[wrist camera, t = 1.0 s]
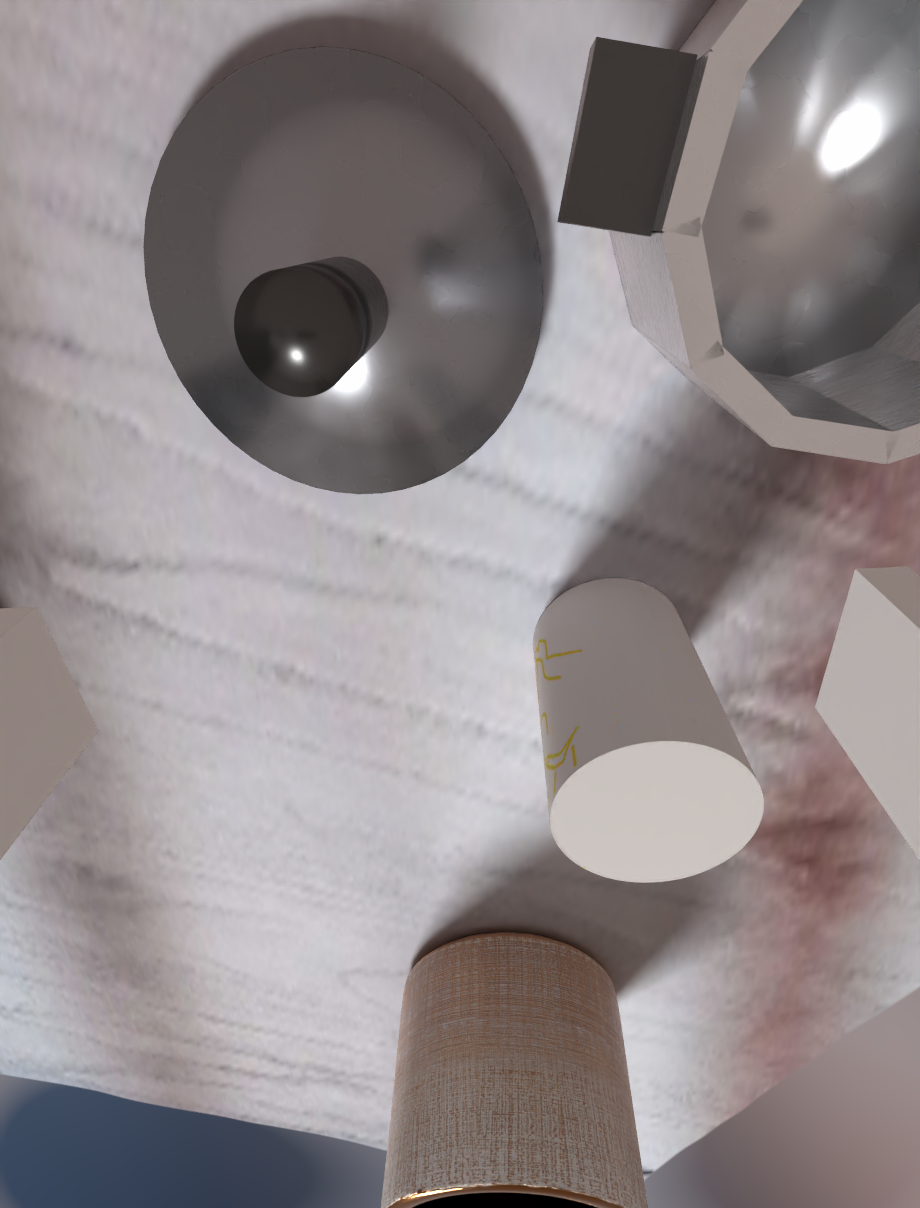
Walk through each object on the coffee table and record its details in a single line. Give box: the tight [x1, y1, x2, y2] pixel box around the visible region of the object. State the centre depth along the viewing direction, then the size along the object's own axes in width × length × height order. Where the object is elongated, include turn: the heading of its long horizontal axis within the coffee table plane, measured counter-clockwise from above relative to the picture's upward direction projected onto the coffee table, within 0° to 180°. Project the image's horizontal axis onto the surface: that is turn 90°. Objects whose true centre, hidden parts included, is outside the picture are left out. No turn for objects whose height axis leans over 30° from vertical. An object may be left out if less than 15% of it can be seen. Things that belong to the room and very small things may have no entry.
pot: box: [558, 0, 920, 464], centre depth 20 cm, size 19×14×9 cm
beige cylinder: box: [533, 578, 764, 883], centre depth 29 cm, size 8×8×12 cm
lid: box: [144, 47, 543, 494], centre depth 23 cm, size 16×16×9 cm
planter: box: [381, 932, 648, 1208], centre depth 47 cm, size 18×18×16 cm
